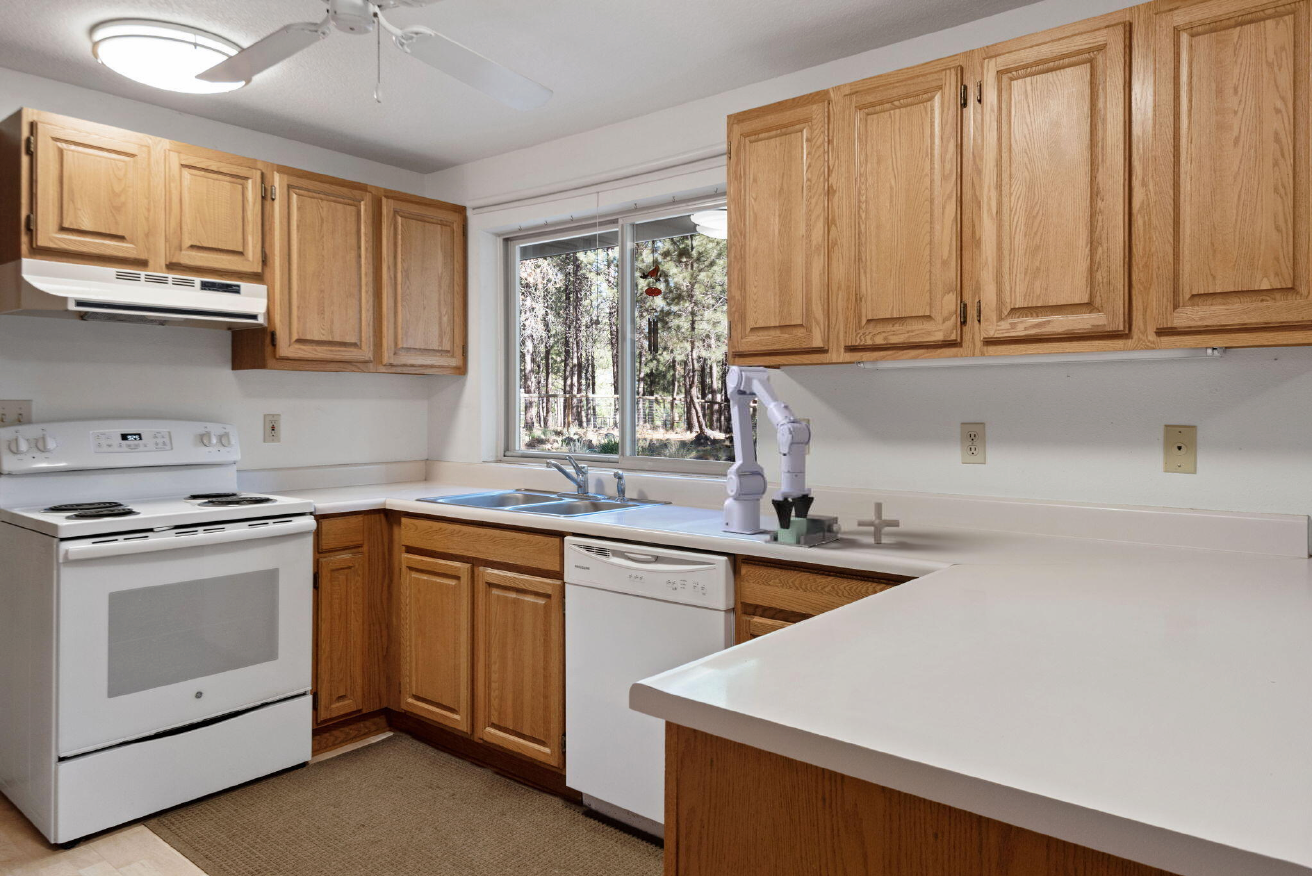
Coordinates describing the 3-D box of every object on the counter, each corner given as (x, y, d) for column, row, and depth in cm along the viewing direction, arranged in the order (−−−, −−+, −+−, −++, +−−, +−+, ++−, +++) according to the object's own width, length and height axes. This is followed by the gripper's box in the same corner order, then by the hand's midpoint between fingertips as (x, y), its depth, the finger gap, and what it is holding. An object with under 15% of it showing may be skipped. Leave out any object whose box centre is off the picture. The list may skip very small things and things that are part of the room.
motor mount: (764, 542, 204) (764, 520, 204) (800, 533, 218) (800, 513, 218) (811, 548, 196) (811, 525, 196) (845, 539, 210) (846, 517, 210)
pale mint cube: (777, 541, 203) (778, 518, 203) (788, 538, 207) (788, 516, 207) (795, 543, 200) (796, 520, 199) (806, 540, 204) (806, 518, 203)
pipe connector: (894, 540, 208) (895, 500, 208) (902, 547, 198) (903, 505, 198) (854, 539, 209) (854, 500, 209) (859, 546, 199) (860, 504, 199)
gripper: (792, 474, 194) (792, 532, 195) (822, 471, 206) (821, 525, 206) (767, 472, 199) (766, 529, 199) (797, 469, 210) (796, 522, 211)
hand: (792, 527), depth 203 cm, fingers open, 7 cm apart
